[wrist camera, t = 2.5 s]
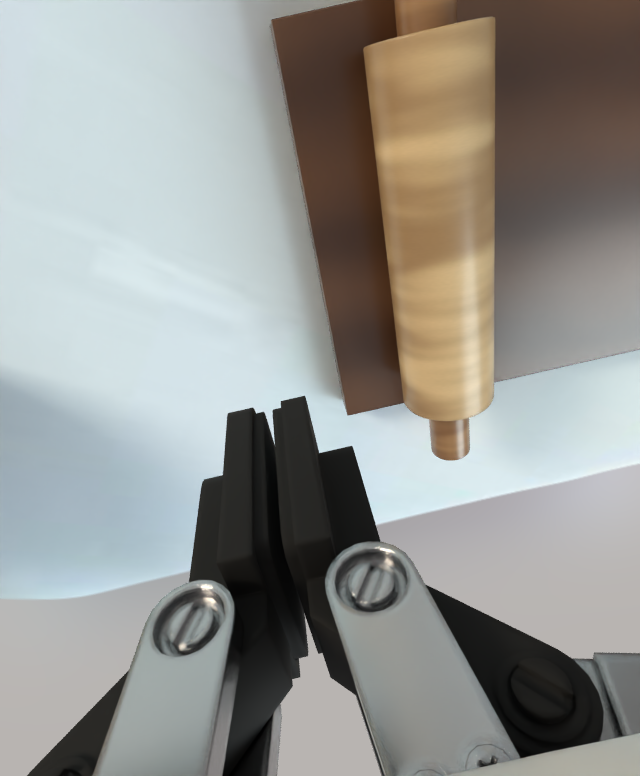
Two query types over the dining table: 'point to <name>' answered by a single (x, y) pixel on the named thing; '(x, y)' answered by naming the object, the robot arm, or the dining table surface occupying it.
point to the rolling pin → (438, 209)
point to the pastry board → (512, 183)
